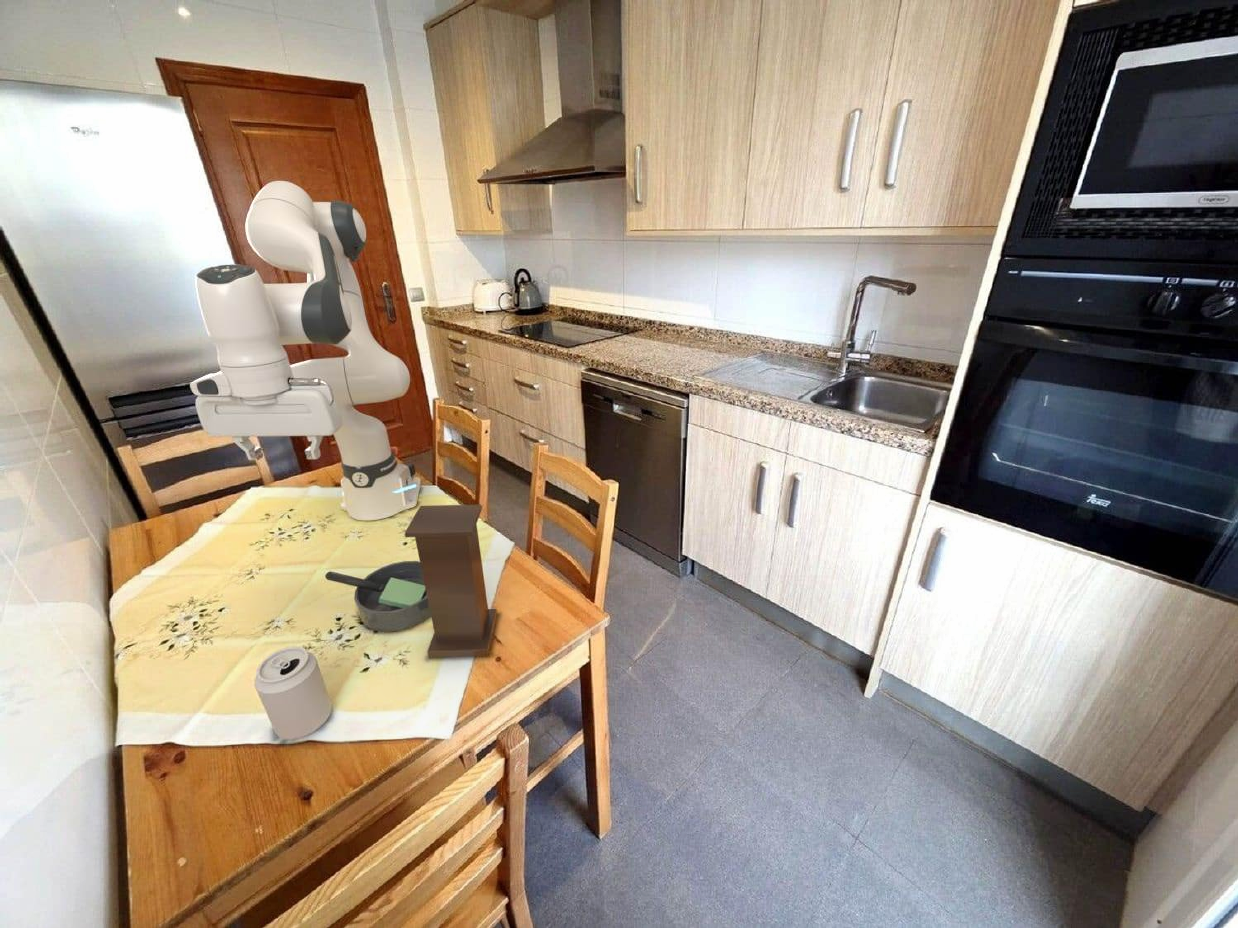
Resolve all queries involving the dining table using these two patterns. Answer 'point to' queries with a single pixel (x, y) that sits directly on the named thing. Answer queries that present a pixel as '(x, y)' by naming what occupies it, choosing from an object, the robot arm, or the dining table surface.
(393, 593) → the spatula
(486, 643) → the stand
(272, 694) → the can
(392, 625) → the pan
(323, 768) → the dining table surface
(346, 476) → the robot arm
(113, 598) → the dining table surface
